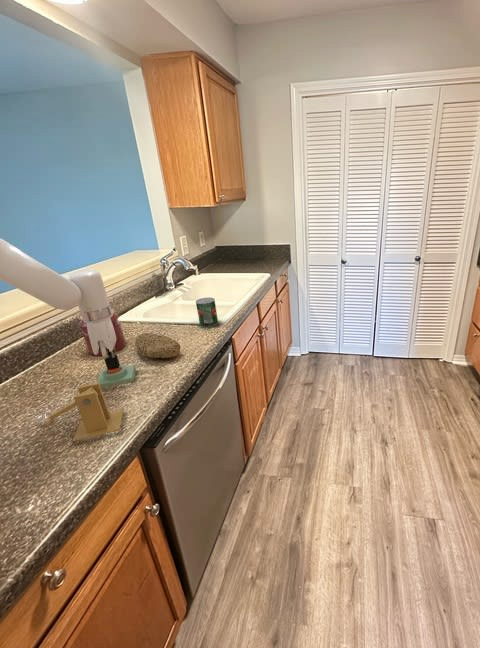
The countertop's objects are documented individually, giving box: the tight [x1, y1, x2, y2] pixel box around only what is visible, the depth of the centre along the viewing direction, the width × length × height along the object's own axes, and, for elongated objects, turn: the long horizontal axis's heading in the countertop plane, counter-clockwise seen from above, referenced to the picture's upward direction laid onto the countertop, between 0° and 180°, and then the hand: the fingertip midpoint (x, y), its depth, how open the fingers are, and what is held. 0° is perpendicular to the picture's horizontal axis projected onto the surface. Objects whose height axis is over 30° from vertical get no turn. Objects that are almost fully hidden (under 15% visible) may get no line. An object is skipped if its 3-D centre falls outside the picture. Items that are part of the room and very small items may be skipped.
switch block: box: [96, 364, 137, 389], centre depth 102 cm, size 10×8×4 cm
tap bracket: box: [72, 381, 124, 442], centre depth 80 cm, size 10×8×12 cm
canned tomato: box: [195, 297, 219, 328], centre depth 140 cm, size 8×8×11 cm
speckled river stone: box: [134, 332, 182, 359], centre depth 117 cm, size 13×8×20 cm
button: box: [106, 366, 121, 374], centre depth 101 cm, size 4×4×2 cm
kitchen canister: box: [78, 308, 126, 356], centre depth 121 cm, size 13×13×18 cm
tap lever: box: [35, 387, 98, 429], centre depth 78 cm, size 14×4×4 cm, turn 111°
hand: (114, 367), depth 101 cm, fingers closed
